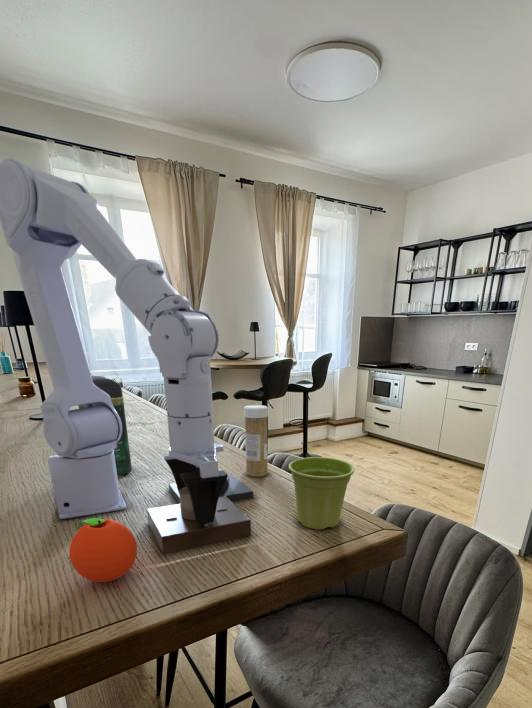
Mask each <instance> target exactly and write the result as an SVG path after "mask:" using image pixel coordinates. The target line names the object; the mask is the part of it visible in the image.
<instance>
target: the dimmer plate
mask: <svg viewBox="0 0 532 708" xmlns="http://www.w3.org/2000/svg"><path fill="white" fill-rule="evenodd" d="M146 513H147V514H146V515H147V523H148V526H149V528H150V530H151V532H152V535H153V536H154V538H155V540H156V543H157V544H158V546H159V548H160V550H161V552H162V554H163V555H168V554H173V553H178V552H181V551H186V550H191V549H195V548H199V547H200V548H201V547H205V546H209V545H215V544H219V543H223V542H227V541H233V540H238V539H242V538H246V537H251V536H252V520H251V518H250V517H248V515H247V514H245V512H243V511H242V510H241V509H240V508H239V507H238V506H237V505H236V504H235V503H234V502H231V501H230V500H229V499H228V498H227V497H226V496H223V497H219V498H218V503H217V508H216V513H215V518H214V521H213V522H211V523H206V524H200V525H199V524H198V523H197V521H196V520H188V519H185V518H183V517H182V516H181V507H180V504H179V503H174V504H170V505H162V506H157V507H156V506H155V507H151V508H146Z"/></svg>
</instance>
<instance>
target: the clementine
mask: <svg viewBox="0 0 532 708" xmlns="http://www.w3.org/2000/svg"><path fill="white" fill-rule="evenodd" d="M83 523H85V524H84V525H83ZM82 525H83V526H82ZM81 526H82V527H81ZM137 545H138V544H137V540H136V537H135V535H134V534H133V532H132V531H131V530H130V529H129V528H128V527H127V526H126V525H125V524H123V523H122V522H120V521H117V520H114V519H110V518H100V517H99V518H98V517H90V518H88V519H84V520H83V521H80V522H79V523H78V524H77V531H76V532H75V534H74V535H73V536H72V538H71V541H70V545H69V548H68V556H69V560H70V563H71V565H72V567H73V569H74V570H75V571H76V573H77V574H78V575H80V576H81V577H83V578H84V579H86V580H87V581H88V580H89V581H91V582H96V583H108V582H112V581H115V580H117V579H120V578H121V577H122V576H124V575H125V574H126V573H128V572H129V571H130V569H131V568H132V567H133V565H134V563H135V561H136V557H137V555H138V546H137Z"/></svg>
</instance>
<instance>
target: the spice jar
mask: <svg viewBox="0 0 532 708" xmlns="http://www.w3.org/2000/svg"><path fill="white" fill-rule="evenodd" d="M243 417H244V445H245V447H244V449H245V462H246V463H245V464H246V465H245V466H246V467H245V468H246V469H245V474H246V475H247V476H249V477H253V478H260V477H265V476H267V475H268V474H269V469H268V467H269V466H268V459H269V451H268V448H269V447H268V445H269V444H268V417H269V408H268V406H267V405H261V404H251V405H245V406H244V407H243Z"/></svg>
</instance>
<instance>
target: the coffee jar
mask: <svg viewBox="0 0 532 708" xmlns="http://www.w3.org/2000/svg"><path fill="white" fill-rule="evenodd" d="M91 377H92V381H93V384H94V385H95V386H97V387H98V388H100V389H101V390H103V391H104V392H105V393H107V394H108V395H109V396H110V398H111V402H112V405H113V407H114V409H115V411H116V412H117V413H118V415H119V417H120V419H121V423H122V435H121V438H120V439H119V440H118V441H117V442H116V443H117V448H115V449H114V457H115V464H116V471H117V477H120V476H122V475H125V474H130V473H131V472H132V469H133V467H132V459H131V451H130V442H129V435H128V426H127V417H126V410H125V401H124V394H123V388H122V384H121V383H120V382H118V381H115V380H113V379H111V378H107V377H105V376H103V375H102V376H101V375H91ZM77 406H78V409H81V408H87V406H85V405H77Z"/></svg>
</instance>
